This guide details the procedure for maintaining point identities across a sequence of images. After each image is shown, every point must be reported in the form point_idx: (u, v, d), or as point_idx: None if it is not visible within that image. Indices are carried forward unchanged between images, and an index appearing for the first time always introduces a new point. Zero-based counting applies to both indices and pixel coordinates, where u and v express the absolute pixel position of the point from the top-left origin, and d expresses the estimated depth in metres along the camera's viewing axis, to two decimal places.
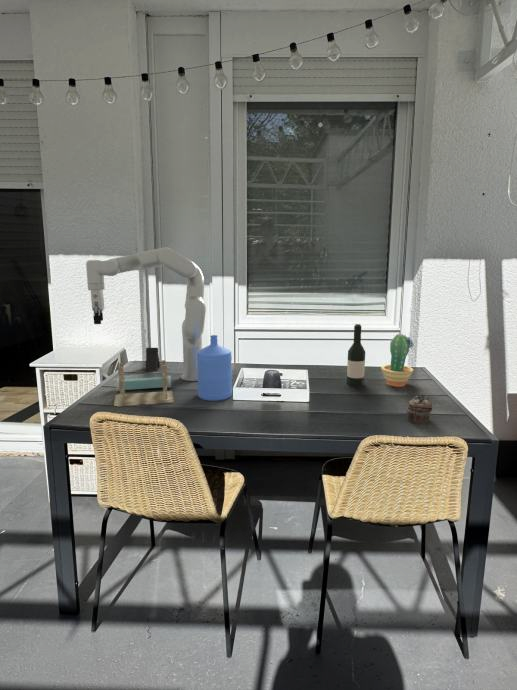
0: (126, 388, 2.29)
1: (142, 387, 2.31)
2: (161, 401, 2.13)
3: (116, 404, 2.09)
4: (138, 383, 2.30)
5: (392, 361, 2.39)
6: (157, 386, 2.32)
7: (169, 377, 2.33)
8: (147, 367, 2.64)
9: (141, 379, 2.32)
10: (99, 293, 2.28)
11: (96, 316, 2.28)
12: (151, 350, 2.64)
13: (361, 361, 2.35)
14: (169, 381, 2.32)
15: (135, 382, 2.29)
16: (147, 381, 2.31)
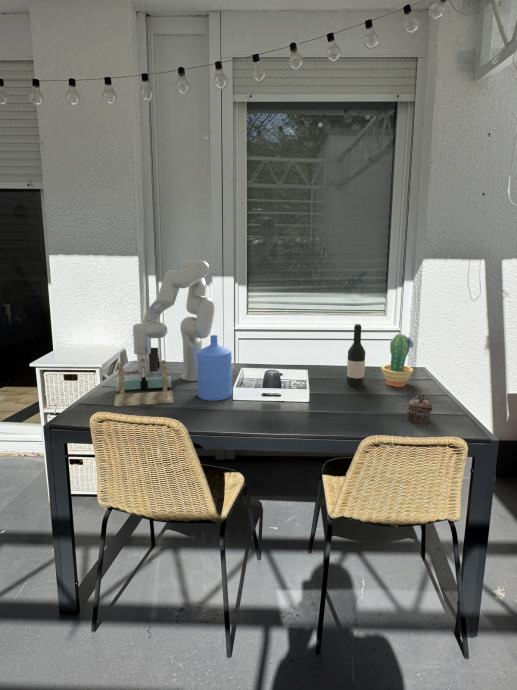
0: (126, 388, 2.29)
1: None
2: (161, 401, 2.13)
3: (116, 404, 2.09)
4: (138, 383, 2.30)
5: (392, 361, 2.39)
6: (157, 386, 2.32)
7: (169, 377, 2.33)
8: None
9: None
10: (146, 357, 2.26)
11: (143, 381, 2.29)
12: (151, 350, 2.64)
13: (361, 361, 2.35)
14: (169, 381, 2.32)
15: (135, 382, 2.29)
16: (147, 381, 2.31)
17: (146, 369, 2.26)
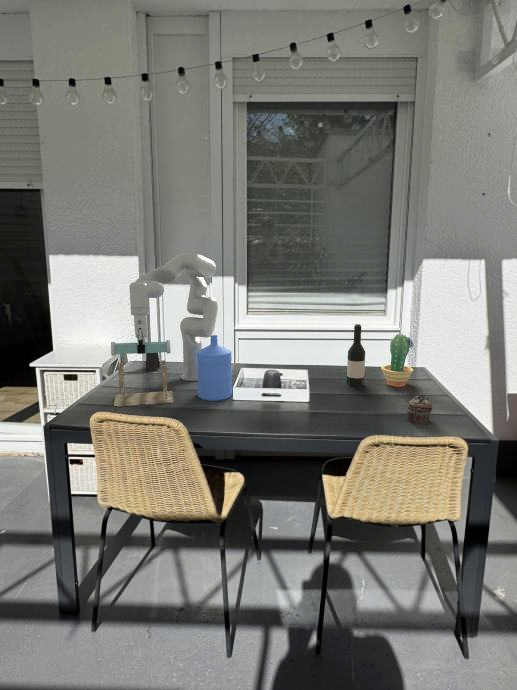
0: (121, 352, 2.11)
1: None
2: (161, 401, 2.13)
3: (116, 404, 2.09)
4: (134, 347, 2.12)
5: (392, 361, 2.39)
6: (155, 351, 2.14)
7: (168, 341, 2.15)
8: (147, 367, 2.64)
9: None
10: (143, 318, 2.07)
11: (140, 345, 2.10)
12: None
13: (361, 361, 2.35)
14: (168, 346, 2.14)
15: (131, 346, 2.11)
16: None
17: (143, 331, 2.08)
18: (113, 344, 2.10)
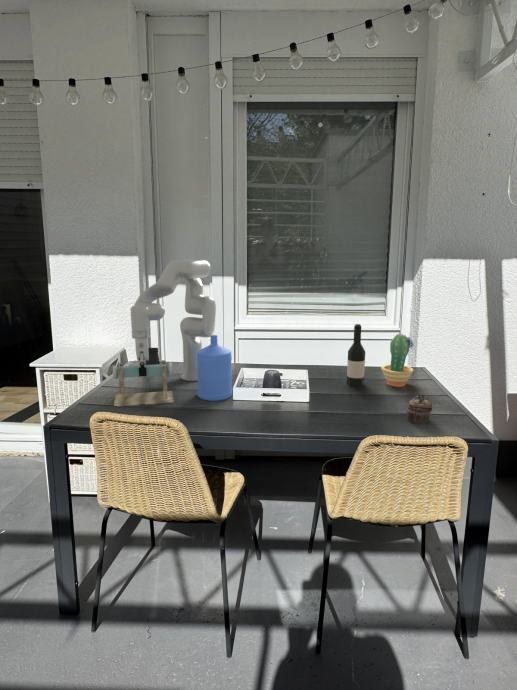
0: (123, 376, 2.12)
1: None
2: (161, 401, 2.13)
3: (116, 404, 2.09)
4: (136, 371, 2.12)
5: (392, 361, 2.39)
6: (157, 374, 2.15)
7: (170, 364, 2.16)
8: None
9: None
10: (145, 342, 2.08)
11: (142, 368, 2.10)
12: (151, 350, 2.64)
13: (361, 361, 2.35)
14: (170, 368, 2.15)
15: (133, 369, 2.12)
16: (146, 368, 2.13)
17: (145, 354, 2.09)
18: (115, 368, 2.10)
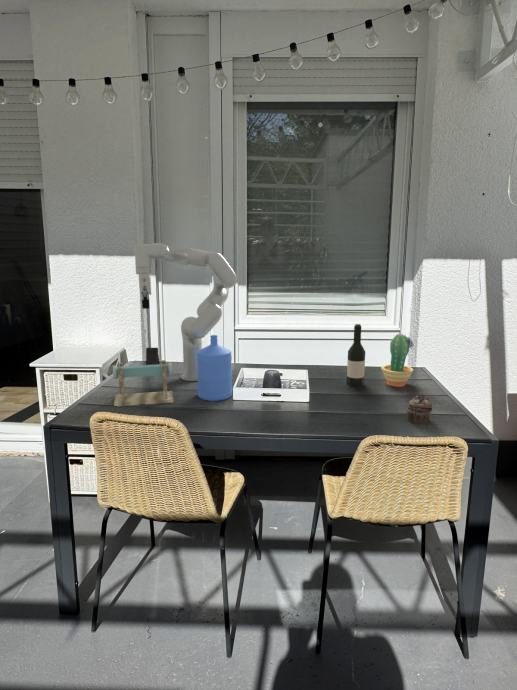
0: (123, 376, 2.12)
1: (141, 375, 2.13)
2: (161, 401, 2.13)
3: (116, 404, 2.09)
4: (136, 371, 2.12)
5: (392, 361, 2.39)
6: (157, 374, 2.15)
7: (170, 364, 2.16)
8: None
9: (140, 366, 2.14)
10: (148, 277, 2.26)
11: (145, 300, 2.26)
12: (151, 350, 2.65)
13: (361, 361, 2.35)
14: (170, 368, 2.15)
15: (133, 369, 2.12)
16: (146, 368, 2.13)
17: (148, 289, 2.26)
18: (115, 368, 2.10)
